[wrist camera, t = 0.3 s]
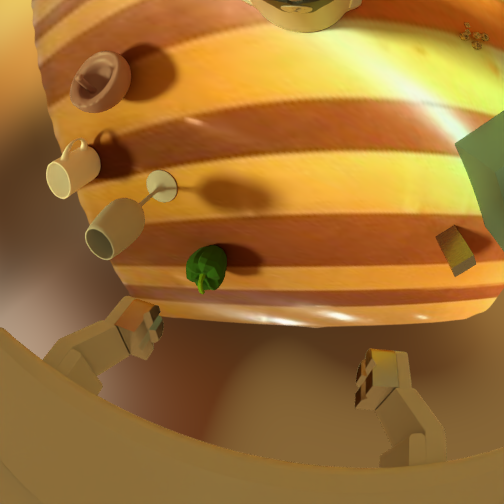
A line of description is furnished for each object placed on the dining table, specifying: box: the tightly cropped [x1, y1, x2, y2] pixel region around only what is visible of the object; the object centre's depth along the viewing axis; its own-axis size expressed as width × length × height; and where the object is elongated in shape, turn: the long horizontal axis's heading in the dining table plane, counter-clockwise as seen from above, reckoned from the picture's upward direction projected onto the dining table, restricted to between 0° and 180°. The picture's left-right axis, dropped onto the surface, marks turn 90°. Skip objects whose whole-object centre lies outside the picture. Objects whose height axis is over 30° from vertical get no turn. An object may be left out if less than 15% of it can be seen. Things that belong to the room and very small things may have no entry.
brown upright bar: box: [436, 225, 476, 277], centre depth 41 cm, size 5×2×10 cm, turn 134°
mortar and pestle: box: [70, 51, 131, 113], centre depth 36 cm, size 12×12×11 cm
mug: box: [46, 138, 101, 199], centre depth 48 cm, size 9×12×11 cm
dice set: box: [460, 23, 489, 49], centre depth 21 cm, size 5×5×2 cm
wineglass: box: [85, 170, 177, 260], centre depth 45 cm, size 8×8×21 cm
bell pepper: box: [186, 245, 227, 294], centre depth 57 cm, size 8×8×10 cm
